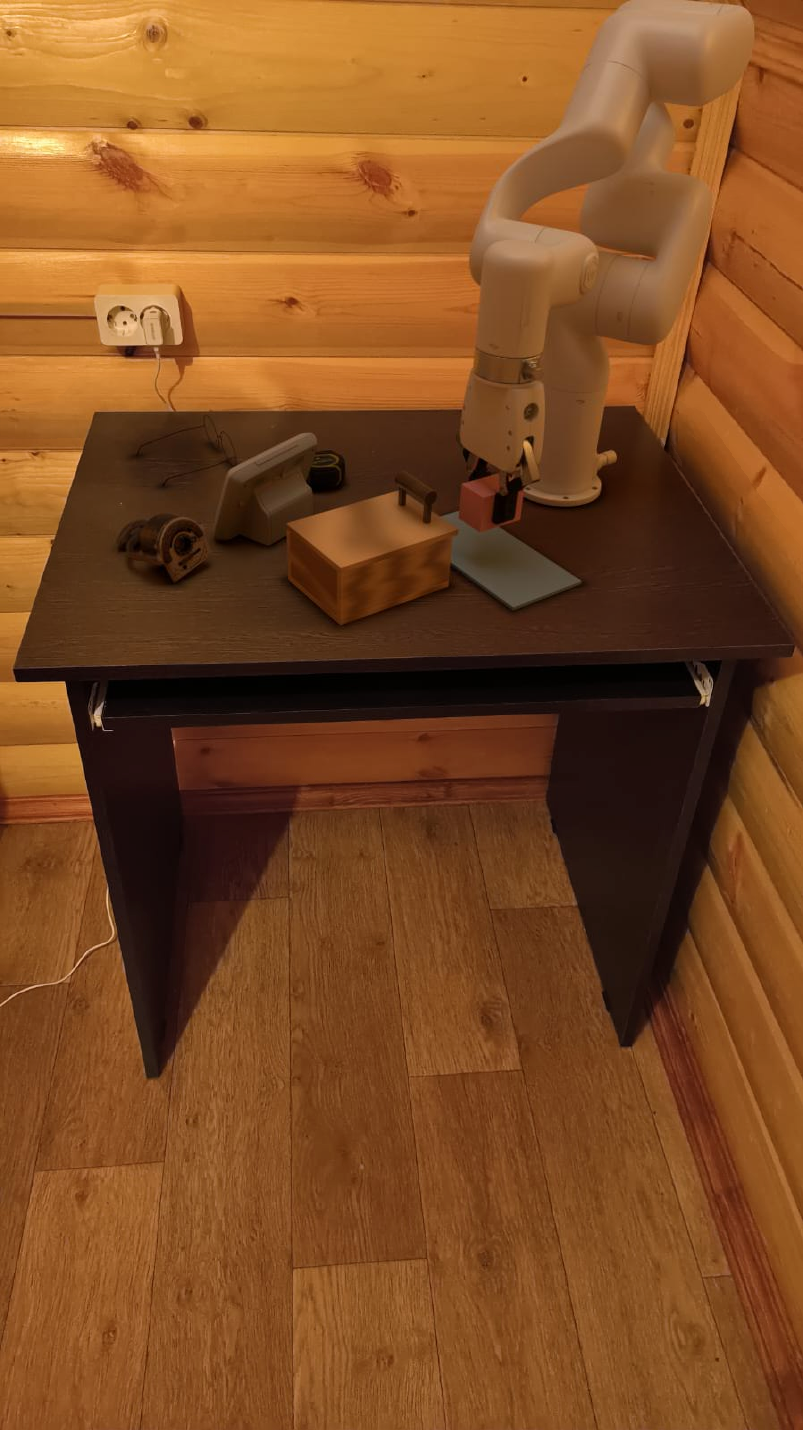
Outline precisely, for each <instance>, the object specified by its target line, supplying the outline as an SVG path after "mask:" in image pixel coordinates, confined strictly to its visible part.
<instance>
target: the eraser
mask: <svg viewBox="0 0 803 1430" xmlns="http://www.w3.org/2000/svg"><path fill="white" fill-rule="evenodd" d="M512 479H513V478H512V476H509V481H511V480H512ZM498 492H499V472H498V473H496V474H495V473H494V474H492V475H491V476H488V477H484V478H481V479H477V480H474V481H470V482H468V481H467V482H463V483H461V489H460V496H459V497H460V498H459V507H458V508H459V509H458V511H459V517H458V518H459V519H460V520H462V521H463V522H465V523H466V524H468V525H469V526H471V527H472V528H474V529H475V530H477V531H478V532H483V531H486V530H490V529H493V528H496V527H502V526H505V525H508V524H511V523H515V522H517V521H520V520H521V515H522V509H523V500H524V497H523V494H524V488H523V490H522V491H519V492H518V498H517V506H516V513H515V518H514V519H513V520H510V521H507V522H504V523H501V524H498V525H495V524H494V523H493V522H492V517H493V508H494V500H495V493H498Z"/></svg>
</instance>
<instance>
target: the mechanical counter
mask: <svg viewBox="0 0 803 1430" xmlns="http://www.w3.org/2000/svg"><path fill="white" fill-rule="evenodd" d="M205 534H206V526H205V524H204V523H202V522H200V521H196V520H194V519H193V518H190V517H188V516H180V515H175V514H172V513H171V514H170V513H158V514H155V515H154V516H152V517H151V518H150V519H145V518H144V519H143V518H142V519H141V518H139V519H136V520H133V521H130V522H129V523H127V524H126V525H125V526H124V527H123V528H122V529H121V530H120V533H119V534H118V536H117V538H116V544H117V547H118V546H119V547H121V548H124V549H125V551H126V554H127V556H128V557H129V558H130V559H132V560H134V561H139V562H144V563H145V564H149V565H154V566H157V567H161V568H165V569H166V571H167V573H168V575H169V576H170V579H171V580H172V581H173V583H177V582H178V581H180V580H181V579H182V578H183V577H185V576H186V575H187V574H188V573H190V572H192V571H193V570H194V569H195V568H196V567H198V566H200V565H201V563H203V562H205V561H207V559H208V558H210V557H211V556H212V555H213V552H212V550H211V547H210V545H209V543H208V541H207V539H206V536H205ZM138 544H140V549H141V552H142V553H139V552H136V551H133V549H134V548H135V546H137V545H138Z"/></svg>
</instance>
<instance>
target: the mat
mask: <svg viewBox="0 0 803 1430" xmlns="http://www.w3.org/2000/svg"><path fill="white" fill-rule="evenodd" d="M440 517H441V518H443V519H444V520H446V521H447V522H449V523H450V524H452V525H453V526H455V527H456V528H457V529H458V535H456V536H453V539H452V551H451V563H450V567H452V568H453V569H454V570H456V571H458V573H460V574H461V575H463V576H464V577H466V578H467V579H468V580H470V581H471V582H472V583H474V584H475V585H476V586H478V587H479V588H481V589H482V590H483V591H484V592H487V593H488V594H489V595H490V596H491V597H493V598H494V599H496V600H497V601H499V602H500V603H501V604H503V605H504V606H506V607H507V608H509V610H511V611H512V612H513V611H516V610H519V609H521V608H524V607H526V606H529V605H531V604H534V603H537V602H539V601H542V600H544V599H547V598H550V597H552V596H554V595H557V594H560V593H562V592H565V591H567V590H571V589H572V588H575V587H577V586H580V585H582V580H581V579H579V578H578V577H576V576H575V575H574V574H571V573H570V572H569V571H567V570H566V569H564V568H563V567H561V566H560V565H558V564H556V563H555V562H554V561H552V560H551V559H549V558H548V557H546V556H544V555H543V554H541V553H540V552H538V551H536V550H535V549H533V548H532V547H531V546H529V545H527V544H526V543H524V542H523V541H521V540H520V539H518V538H517V537H515V536H514V535H512V534H510V532H508V531H506V530H505V529H503V528H501V526H499V527H496V528H493V529H490V530H486V531H483V532H478V531H477V530H475V529H474V528H472V527H471V526H469V525H468V524H466V523H465V522H463V521H462V520H460V519H459V518H458V517H459V510H457V511H453V512H450V513H448V514H443V515H441V516H440Z"/></svg>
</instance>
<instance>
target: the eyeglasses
mask: <svg viewBox="0 0 803 1430" xmlns="http://www.w3.org/2000/svg"><path fill="white" fill-rule="evenodd" d="M206 417H208V419H209V420H210V422H211V424H212V426H213V428H214V431H215V434H216V438H217V439H216V440H215V441H216V442H217V443H218V446H217V448H216V447H215V446H214V445H213V442H212V441H211V439H210V437H209V435H208V432H207V431H208V430H207V428H206V423H205V420H203V424H202V425H200V426H195V427H191V428H186V429H183V430H179V431H176V432H173V433H171V434H168V435H165V436H163V437H160V438H157V439H154V440H152V441H149V442H146V443H143V444H141V445H140V446H139V448H138V450H137V452H136V454H135V456H136V457H139V454H140V451H141V449H142V447H144V446H147V445H149V444H151V443H154V442H156V441H159V440H162V439H164V438H166V437H170V436H172V435H175V434H178V433H182V432H186V431H189V430H193V429H199V428H202V427H204V430H205V433H206V436H207V438H208V440H209V442H210V444H211V446H212V447H213V449H214V450H217V449H219V448H220V444H221V447H222V450H223V454H224V456H225V458H226V460H224V461H221V462H219V463H217V464H213V465H211V466H208V467H204V468H200V469H196V470H192V471H190V472H189V471H188V472H186V473H185V472H184V473H180V474H177V475H173V476H170V477H167V478H166V479H165V481H164V482H163V483H162V484H161V486H162V487H164V486H165V485H166V484H167V482H168V480H169V479H173V478H176V477H181V476H184V475H188V474H193V473H195V472H199V471H203V470H206V469H210V468H213V467H216V466H219V465H221V464H224V463H225V462H228V463H229V464H230V466H231V467H232V468H233V467H235V466H237V463H235V464H234V465H233V464H232V463H231V462H230V460H232V459H234V460H237V455H236V451H235V448H234V445H233V443H232V440H231V439H230V437H229V435H228V434H227V433H226V432H225V431H222V430H221V432H220V435H218V432H217V429H216V427H215V425H214V424H215V423H214V422H213V420H212V418H211V417H209V415H207V414H205V415H204V416H203V419H205V418H206ZM223 433H224V434H225V435H226V437H227V438H228V440H229V442H230V445H231V447H232V449H233V450H232V451H233V454H234V456H233V457H230V458H228V457H227V454H226V452H225V449H224V445H223V437H222V436H221V435H222V434H223ZM219 438H220V440H219Z"/></svg>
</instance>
